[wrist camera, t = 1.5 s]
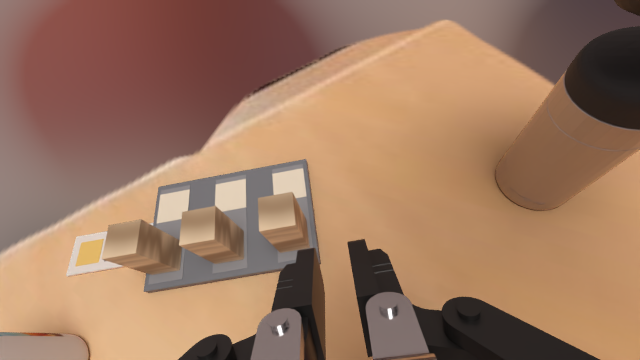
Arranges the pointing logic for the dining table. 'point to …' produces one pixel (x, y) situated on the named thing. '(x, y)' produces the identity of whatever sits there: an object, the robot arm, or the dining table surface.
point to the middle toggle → (211, 235)
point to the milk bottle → (42, 346)
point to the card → (89, 255)
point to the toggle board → (242, 208)
